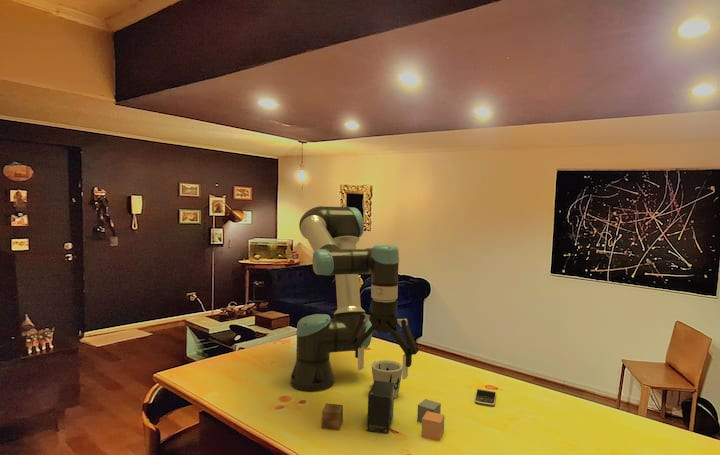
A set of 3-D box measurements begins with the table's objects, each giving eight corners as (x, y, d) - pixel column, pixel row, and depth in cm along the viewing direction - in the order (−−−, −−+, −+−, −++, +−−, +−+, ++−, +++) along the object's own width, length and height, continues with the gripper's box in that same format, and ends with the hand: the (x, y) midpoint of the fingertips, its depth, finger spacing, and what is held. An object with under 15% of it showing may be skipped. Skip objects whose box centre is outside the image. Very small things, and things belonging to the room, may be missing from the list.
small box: (389, 434, 117) (390, 396, 117) (366, 431, 119) (367, 394, 118) (394, 416, 128) (395, 381, 127) (372, 413, 129) (373, 379, 128)
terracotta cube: (421, 436, 117) (422, 418, 116) (426, 428, 121) (426, 411, 121) (439, 441, 115) (440, 422, 114) (443, 432, 119) (444, 414, 119)
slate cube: (417, 421, 125) (417, 404, 125) (424, 415, 129) (425, 398, 129) (433, 426, 122) (433, 409, 122) (440, 420, 126) (440, 403, 126)
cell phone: (474, 405, 137) (474, 401, 137) (477, 391, 148) (477, 387, 147) (494, 409, 135) (494, 404, 135) (496, 395, 145) (496, 390, 145)
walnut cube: (321, 428, 120) (322, 411, 119) (325, 420, 124) (326, 403, 124) (339, 430, 119) (339, 413, 119) (342, 421, 124) (343, 405, 123)
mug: (380, 404, 135) (381, 373, 135) (358, 386, 148) (359, 358, 148) (408, 398, 140) (409, 368, 140) (384, 381, 153) (385, 354, 153)
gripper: (339, 297, 123) (337, 370, 124) (423, 307, 113) (421, 386, 114) (350, 293, 130) (348, 362, 131) (430, 301, 120) (428, 376, 121)
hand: (382, 373), depth 122 cm, fingers open, 13 cm apart
